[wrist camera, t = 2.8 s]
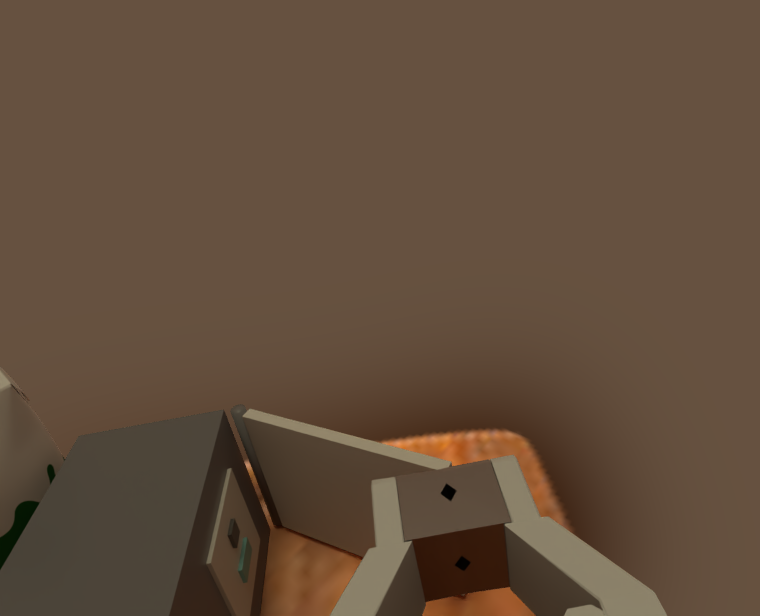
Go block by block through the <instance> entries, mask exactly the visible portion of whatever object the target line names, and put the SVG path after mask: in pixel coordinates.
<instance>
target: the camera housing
mask: <svg viewBox="0 0 760 616" xmlns="http://www.w3.org/2000/svg"><path fill="white" fill-rule="evenodd" d="M269 533H270V527H269V525H268V522H267V520H266V517H265V514H264V512H263V509H262V507H261V504H260V502H259V499H258V496H257V494H256V491H255V489H254V486H253V484H252V481H251V478H250V476H249V473H248V471H247V468H246V465H245V463H244V460H243V458H242V455H241V453H240V450H239V447H238V445H237V442H236V440H235V437H234V434H233V432H232V430H231V427H230V424H229V422H228V419H227V416H226V414H225V412H224V410H219V411H214V412H209V413H203V414H197V415H192V416H186V417H181V418H175V419H170V420H164V421H159V422H153V423H148V424H142V425H137V426H131V427H126V428H120V429H114V430H109V431H103V432H98V433H93V434H87V435H81V436H79V437H78V438H77V440H76V442H75V444H74V445H73V447H72V449H71V450H70V452H69V454H68V455H67V457H66V459H65V461H64V462H63V464H62V466H61V467H60V469H59V471H58V473H57V474H56V476H55V478H54V479H53V481H52V483H51V485H50V486H49V488H48V490H47V491H46V493H45V495H44V496H43V498H42V500H41V502H40V503H39V505H38V507H37V508H36V510H35V512H34V514H33V515H32V517H31V519H30V520H29V522H28V524H27V526H26V527H25V529H24V531H23V532H22V534H21V536H20V537H19V539H18V541H17V543H16V544H15V546H14V548H13V549H12V551H11V553H10V555H9V556H8V558H7V560H6V561H5V563H4V565H3V566H2V568H1V570H0V616H260V609H261V601H262V592H263V584H264V575H265V567H266V559H267V550H268V542H269Z"/></svg>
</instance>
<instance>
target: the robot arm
mask: <svg viewBox="0 0 760 616" xmlns="http://www.w3.org/2000/svg"><path fill="white" fill-rule="evenodd" d="M371 492H372V505H373V517H374V530H375V543H376V547H374V548H370V549H368V551H367V553H366V554H365V556H364V558H363V559H362V561H361V563H360V565H359V566H358V568H357V570H356V571H355V573H354V575H353V577H352V578H351V580H350V582H349V583H348V585H347V587H346V589H345V590H344V592H343V594H342V595H341V597H340V599H339V601H338V602H337V604H336V606H335V607H334V609H333V611H332V613H331V614H330V616H422V614H423V611H424V609H425V606H426V603H425V602H428V601H433V600H437V599H442V598H447V597H452V596H457V595H461V594H466V593H473V592H479V591H486V590H493V589H500V588H506V587H510V589H511V590H512V591H513V592H514V593H515V594H516V595H517V596H518V597H519V598H520V599H521V601H522V602H523V603H524V604H525V605H526V606H527V607H528V608H529V609H530V610H531V611H532V612H533V613H534V614H535V615H536V616H667V615H666V613H665V611H664V609H663V607H662V606H661V604H660V602H659V600H658V598H657V596H656V595H655V593H654V591H652V590H651V589H649V588H648V587H647V586H645V585H644V584H642V583H641V582H640V581H638V580H637V579H635V578H634V577H633V576H631V575H630V574H628V573H627V572H625V571H624V570H623V569H621V568H620V567H618V566H617V565H616V564H614V563H613V562H611V561H610V560H609V559H607V558H606V557H604V556H603V555H602V554H600V553H599V552H597V551H596V550H595V549H593V548H592V547H590V546H589V545H588V544H586V543H585V542H583V541H582V540H581V539H579V538H578V537H576V536H575V535H574V534H572V533H571V532H569V531H568V530H567V529H565V528H564V527H562V526H561V525H560V524H558V523H557V522H555V521H554V520H552V519H551V518H550V517H540V514H539V512H538V509H537V507H536V505H535V502H534V500H533V497H532V495H531V492H530V490H529V487H528V485H527V483H526V480H525V478H524V475H523V473H522V470H521V468H520V466H519V463H518V461H517V458H516V457H515V456H514V455H510V456H504V457H499V458H494V459H490V460H483V461H478V462H473V463H468V464H462V465H457V466H452V467H447V468H442V469H438V470H432V471H425V472H419V473H413V474H406V475H400V476H396V477H390V478H384V479H377V480H372V484H371Z"/></svg>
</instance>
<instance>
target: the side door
mask: <svg viewBox="0 0 760 616" xmlns="http://www.w3.org/2000/svg"><path fill="white" fill-rule="evenodd" d="M231 414H232V417H233V419H234V422H235V425H236V427H237V430H238V432H239V435H240V438H241V441H242V443H243V446H244V448H245V451H246V454H247V456H248V459H249V462H250V464H251V467H252V469H253V472H254V475H255V477H256V480H257V483H258V485H259V488H260V490H261V493H262V496H263V498H264V501H265V504H266V506H267V509H268V511H269V514H270V517H271V519H272V522H273V524H274V525H276V526H279V525H282V526H283V527H286V528H289V529H291V530H294V531H296V532H299V533H302V534H304V535H307V536H309V537H312V538H315V539H317V540H320V541H322V542H325V543H328V544H330V545H333V546H335V547H338V548H341V549H343V550H346V551H348V552H351V553H354V554H356V555H359V556H361V557H364V556H365V554H366V553H367V551H368V549H370V548H374V547H376V543H375V530H374V517H373V505H372V492H371V484H372V480H377V479H384V478H390V477H396V476H400V475H406V474H413V473H419V472H425V471H432V470H438V469H442V468H447V467H452V463H451V462H450V461H446V460H442V459H439V458H435V457H431V456H427V455H423V454H420V453H416V452H412V451H408V450H404V449H401V448H397V447H393V446H389V445H385V444H382V443H378V442H374V441H370V440H366V439H363V438H359V437H355V436H351V435H347V434H343V433H340V432H336V431H332V430H328V429H325V428H320V427H316V426H313V425H309V424H306V423H301V422H298V421H294V420H290V419H286V418H282V417H279V416H275V415H271V414H268V413H264V412H260V411H256V410H252V409H249V410H248V411H246V408H245V406H244V405H236V406H234V407H233V408H232V409H231ZM461 595H463V596H464V595H465V594H461Z"/></svg>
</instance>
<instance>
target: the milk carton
mask: <svg viewBox="0 0 760 616" xmlns="http://www.w3.org/2000/svg"><path fill="white" fill-rule="evenodd" d="M14 387H15V388H17V389H18V390H19V391H21V392H22V394H23V395H24V396H25V397H26V398H27V396H26V395H25V393H24V392H23V391H22V390H21V388H20V387H19V386H18V385H17V384H16V382H15V381H14V380H13V379H12V378H11V377H10V376H9V375H8V374H7V373H6V372H5V371H4V370H3V369H2V368H1V367H0V570H1V568H2V566H3V565H4V563H5V561H6V560H7V558H8V556H9V555H10V553H11V551H12V549H13V548H14V546H15V544H16V543H17V541H18V539H19V537H20V536H21V534H22V532H23V531H24V529H25V527H26V526H27V524H28V522H29V520H30V519H31V517H32V515H33V514H34V512H35V510H36V508H37V507H38V505H39V503H40V502H41V500H42V498H43V496H44V495H45V493H46V491H47V490H48V488H49V486H50V485H51V483H52V481H53V479H54V478H55V476H56V474H57V473H58V471H59V469H60V467H61V466H62V464H63V462H64V461H65V459H64V457H63V455H62V454H61V452H60V450H59V449H58V447H57V445H56V444H55V442H54V441H53V439H52V437H51V435H50V434H49V432H48V431H47V429H46V427H45V426H44V424H43V423H42V421H41V420H40V418H39V417H38V416H37V414H36V413H35V412H34V410H33V409H32V408H31V407H30V405H29V404H28V403H27V402H26V401H25V400H24V398H23V397H22V396H21V395H20V394H19V392H18V391H17V390H16V389H15V388H14ZM27 400H28V401H29V399H28V398H27Z"/></svg>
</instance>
